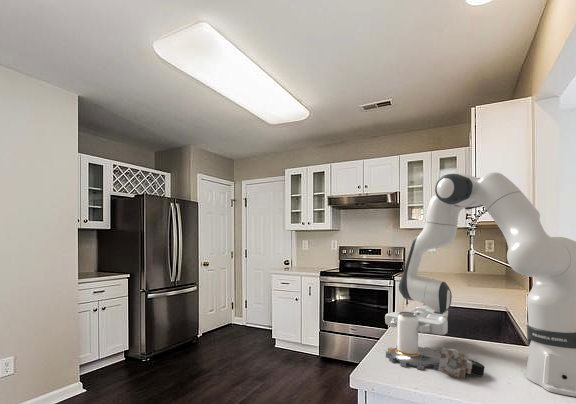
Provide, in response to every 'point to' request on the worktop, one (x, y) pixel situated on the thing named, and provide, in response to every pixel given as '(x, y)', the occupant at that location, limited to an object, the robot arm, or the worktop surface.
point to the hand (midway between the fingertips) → (405, 327)
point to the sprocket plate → (416, 358)
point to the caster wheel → (458, 364)
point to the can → (407, 333)
